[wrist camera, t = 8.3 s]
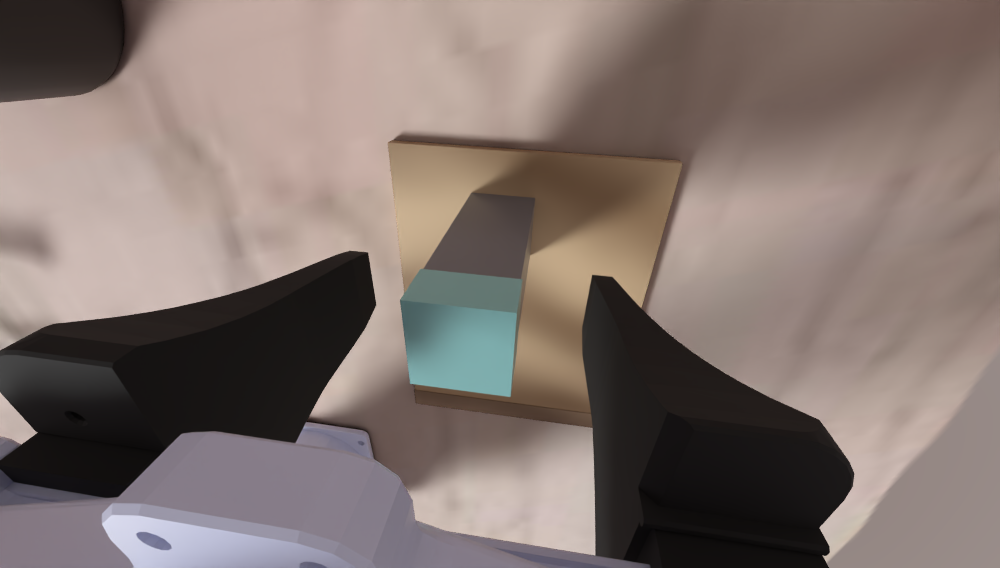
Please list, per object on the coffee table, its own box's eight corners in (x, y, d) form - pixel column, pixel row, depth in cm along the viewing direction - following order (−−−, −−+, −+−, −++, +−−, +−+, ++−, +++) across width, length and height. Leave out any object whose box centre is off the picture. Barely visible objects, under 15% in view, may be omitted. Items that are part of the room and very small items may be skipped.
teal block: (531, 256, 18) (510, 396, 11) (470, 250, 18) (410, 383, 11) (536, 196, 16) (517, 313, 9) (470, 191, 17) (400, 299, 9)
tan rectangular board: (606, 422, 24) (607, 429, 23) (418, 396, 25) (415, 403, 24) (680, 160, 15) (684, 164, 15) (391, 140, 17) (386, 142, 16)
